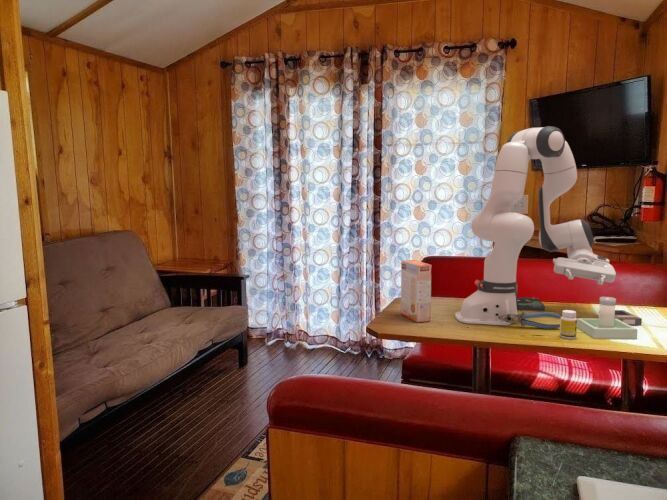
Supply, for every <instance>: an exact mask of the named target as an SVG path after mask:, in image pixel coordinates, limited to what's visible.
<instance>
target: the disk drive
mask: <svg viewBox="0 0 667 500" xmlns="http://www.w3.org/2000/svg"><path fill="white" fill-rule="evenodd" d="M516 305H517V311H531V312H533V311H534V312H546V306H545V304H544V303H543V302H542V301H541V300H539V298H537V297H526V296H525V297H524V296H523V297H518V296H516Z"/></svg>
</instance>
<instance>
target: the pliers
mask: <svg viewBox="0 0 667 500" xmlns="http://www.w3.org/2000/svg"><path fill="white" fill-rule="evenodd" d="M503 317H505V319H504V318H503ZM548 317H549V318H555V319H561V317H562V314H560V313H556V312H553V311H551V312H550V311H535V312H530V313H529V312H528V313H527V312H525V310H521V314H519V313H518V315H515V314H505V315H501V316H498V318H499V319H500V320H502V321H505V322H508V323H511V324H515V323H516V324H520V326H521V327H522V328H524V327H525V326H530V327H532V328H538V329H541V330H542V329H545V330H553V329H560V323H559V324H557V323H556V324H548V323H547V324H546V323H541V322H537V321H532V320H529V319H536V318H548Z"/></svg>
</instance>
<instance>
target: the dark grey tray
mask: <svg viewBox="0 0 667 500" xmlns="http://www.w3.org/2000/svg"><path fill="white" fill-rule="evenodd" d="M614 319H618V320H620V321H622V322H624V323H626V324H628V325H630V326H632V327H634V325H641V326H642V323H643V321H642V320H643V319H642V317H640V316H637V315H635V314H634V313H633V314H632V313H631V312H629V311H627V310H624V309H615V317H614Z"/></svg>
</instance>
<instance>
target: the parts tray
mask: <svg viewBox="0 0 667 500" xmlns="http://www.w3.org/2000/svg"><path fill="white" fill-rule="evenodd" d="M576 318H577V317H576ZM598 324H599V318H586V317H585V318H582V317H581V318H577V329H579V330H580V331H582V332H583V333H585V334H586V335H588V336H590V337H591V338H593V340H595V339H598V340H600V339H603V340H605V339H606V340H607V339H609V340H610V339H611V340H616V339H617V340H619V339H620V340H637V339H638V330H639V329H638V328H636V327H634V326H630V325H628V324H626V323H624V322H622V321H620V320H618V319H614V328H598Z"/></svg>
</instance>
